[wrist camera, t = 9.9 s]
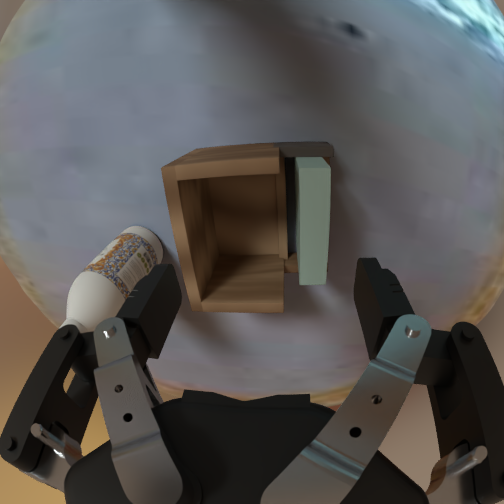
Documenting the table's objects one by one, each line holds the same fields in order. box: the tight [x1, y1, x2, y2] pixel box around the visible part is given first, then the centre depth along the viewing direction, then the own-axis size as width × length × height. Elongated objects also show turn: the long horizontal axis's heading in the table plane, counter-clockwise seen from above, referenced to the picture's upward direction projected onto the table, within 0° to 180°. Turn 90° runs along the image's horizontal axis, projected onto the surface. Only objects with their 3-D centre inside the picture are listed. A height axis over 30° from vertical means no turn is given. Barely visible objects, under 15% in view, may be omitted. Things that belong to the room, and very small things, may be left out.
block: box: [294, 157, 331, 285], centre depth 27 cm, size 11×3×9 cm, turn 4°
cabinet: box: [161, 142, 334, 313], centre depth 27 cm, size 14×14×10 cm
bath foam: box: [60, 226, 163, 333], centre depth 28 cm, size 7×7×20 cm
